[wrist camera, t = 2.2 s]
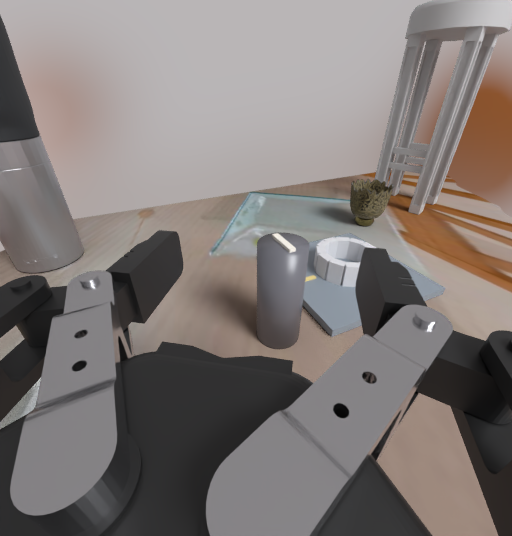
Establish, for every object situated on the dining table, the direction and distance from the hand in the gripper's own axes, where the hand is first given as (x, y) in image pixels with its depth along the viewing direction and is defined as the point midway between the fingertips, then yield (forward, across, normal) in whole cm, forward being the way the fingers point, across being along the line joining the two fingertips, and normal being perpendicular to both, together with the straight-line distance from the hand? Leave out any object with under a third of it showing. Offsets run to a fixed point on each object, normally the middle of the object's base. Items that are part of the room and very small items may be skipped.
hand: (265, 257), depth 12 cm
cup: (+44, -14, +16) cm, 49 cm away
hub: (+24, -8, +16) cm, 30 cm away
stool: (+60, -25, +16) cm, 66 cm away
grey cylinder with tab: (+12, 0, +16) cm, 20 cm away
